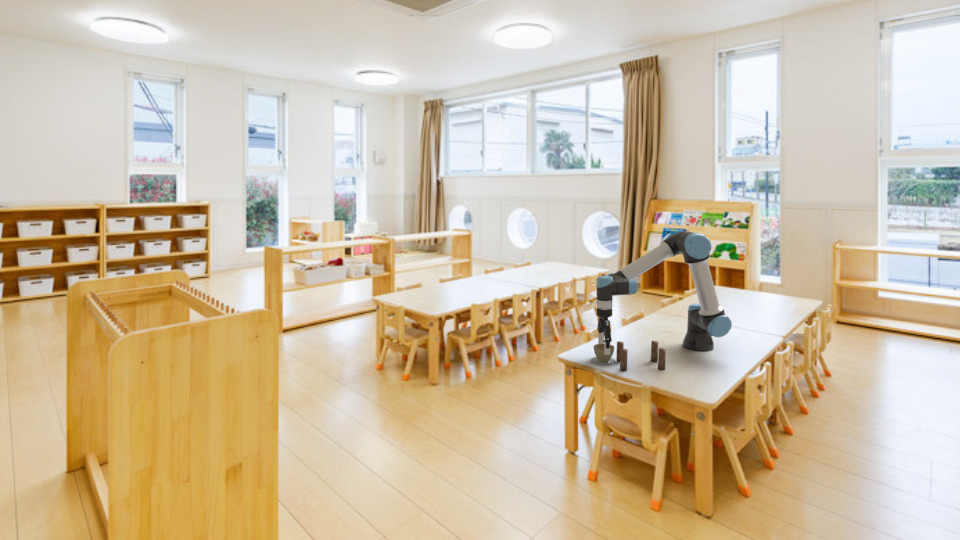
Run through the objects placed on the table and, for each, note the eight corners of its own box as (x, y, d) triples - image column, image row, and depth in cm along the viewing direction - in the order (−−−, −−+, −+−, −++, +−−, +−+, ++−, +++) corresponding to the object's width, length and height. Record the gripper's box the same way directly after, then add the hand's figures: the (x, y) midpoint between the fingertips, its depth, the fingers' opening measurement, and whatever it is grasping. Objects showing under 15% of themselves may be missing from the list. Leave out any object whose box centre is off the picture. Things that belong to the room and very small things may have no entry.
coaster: (612, 357, 263) (612, 356, 263) (618, 365, 252) (618, 364, 252) (588, 357, 264) (588, 356, 264) (593, 365, 252) (593, 365, 252)
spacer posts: (656, 359, 258) (657, 340, 257) (666, 370, 244) (667, 350, 242) (613, 360, 259) (613, 341, 257) (620, 371, 244) (621, 350, 242)
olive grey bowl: (598, 355, 265) (599, 342, 263) (617, 359, 258) (617, 346, 257) (589, 361, 257) (589, 347, 256) (608, 365, 251) (608, 351, 249)
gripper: (591, 302, 265) (591, 342, 269) (602, 314, 241) (601, 358, 244) (606, 301, 265) (606, 341, 269) (618, 314, 241) (617, 358, 244)
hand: (604, 349), depth 257 cm, fingers open, 13 cm apart
